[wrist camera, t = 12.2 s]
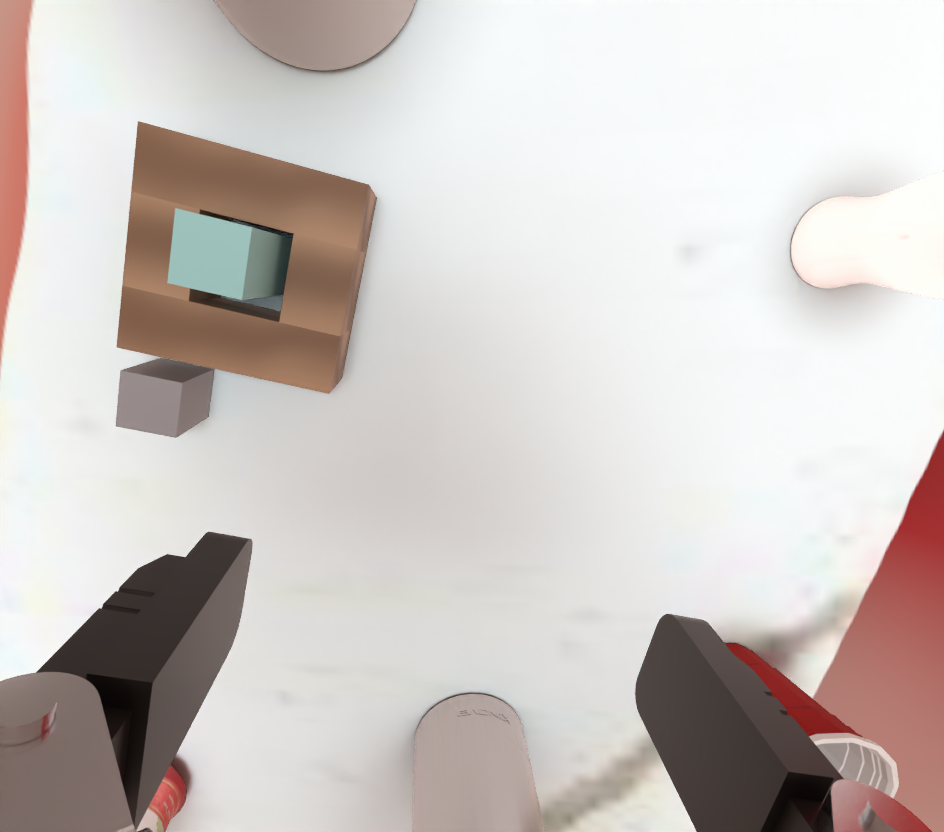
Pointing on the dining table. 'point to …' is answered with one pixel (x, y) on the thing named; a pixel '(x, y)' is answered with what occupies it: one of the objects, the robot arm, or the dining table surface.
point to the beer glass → (876, 240)
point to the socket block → (260, 203)
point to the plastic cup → (827, 729)
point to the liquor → (165, 802)
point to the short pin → (164, 396)
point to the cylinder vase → (318, 28)
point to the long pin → (227, 257)
